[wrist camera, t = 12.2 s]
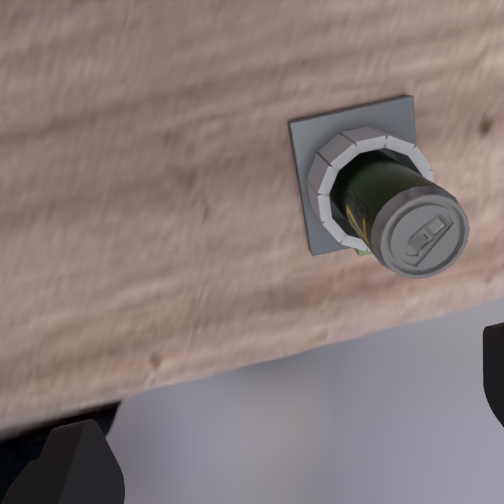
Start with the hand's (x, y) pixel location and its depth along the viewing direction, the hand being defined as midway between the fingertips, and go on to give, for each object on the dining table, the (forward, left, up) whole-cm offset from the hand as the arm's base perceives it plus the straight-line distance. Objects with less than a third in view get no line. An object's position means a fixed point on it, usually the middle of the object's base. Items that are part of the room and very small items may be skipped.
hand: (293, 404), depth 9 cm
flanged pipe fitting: (+5, +9, -28) cm, 30 cm away
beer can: (+5, +9, -27) cm, 29 cm away
